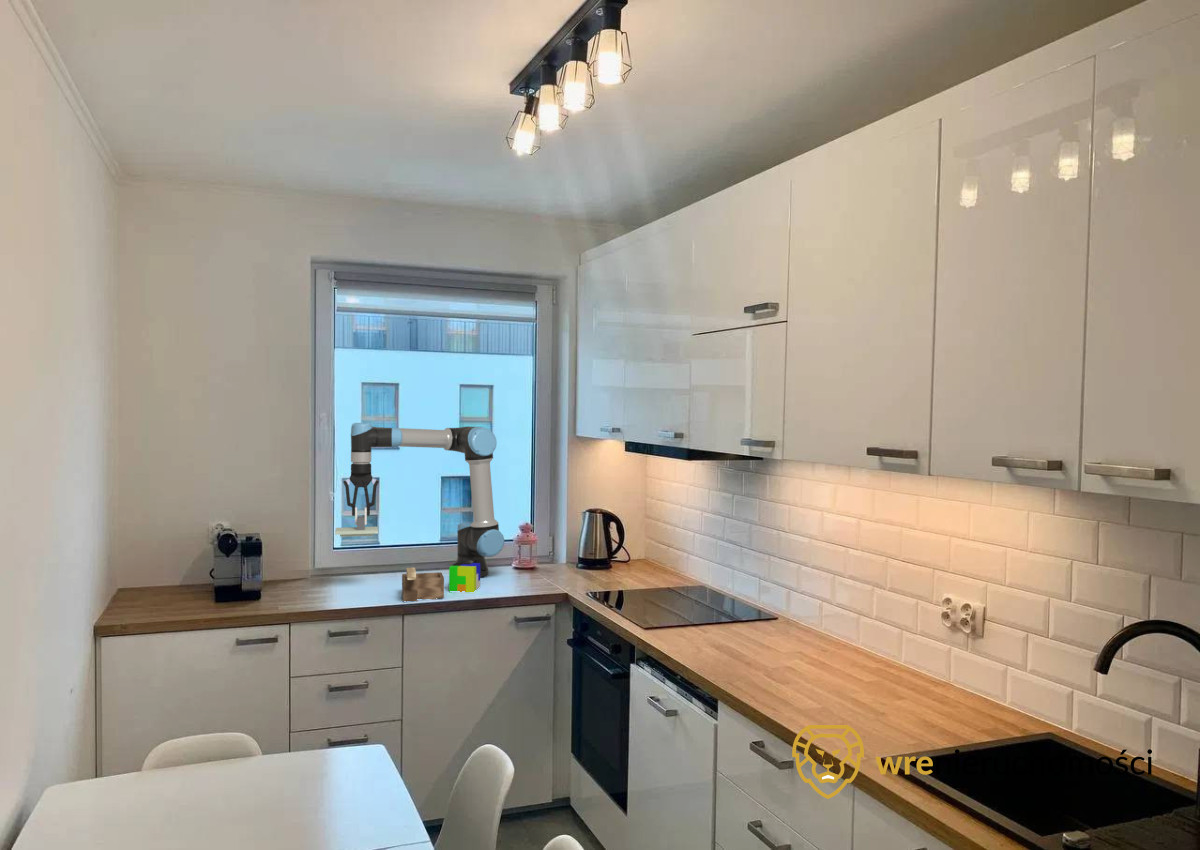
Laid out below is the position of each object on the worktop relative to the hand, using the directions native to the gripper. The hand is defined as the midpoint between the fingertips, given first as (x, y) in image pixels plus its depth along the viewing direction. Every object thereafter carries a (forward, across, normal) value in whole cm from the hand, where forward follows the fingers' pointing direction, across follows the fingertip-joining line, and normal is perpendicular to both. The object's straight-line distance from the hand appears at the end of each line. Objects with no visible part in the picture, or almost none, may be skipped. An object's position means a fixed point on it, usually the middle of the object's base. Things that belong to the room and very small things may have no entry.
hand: (360, 524), depth 328 cm
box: (+28, -23, +9) cm, 37 cm away
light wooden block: (+18, -18, +18) cm, 31 cm away
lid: (+4, +2, 0) cm, 4 cm away
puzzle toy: (+28, -40, -1) cm, 49 cm away
